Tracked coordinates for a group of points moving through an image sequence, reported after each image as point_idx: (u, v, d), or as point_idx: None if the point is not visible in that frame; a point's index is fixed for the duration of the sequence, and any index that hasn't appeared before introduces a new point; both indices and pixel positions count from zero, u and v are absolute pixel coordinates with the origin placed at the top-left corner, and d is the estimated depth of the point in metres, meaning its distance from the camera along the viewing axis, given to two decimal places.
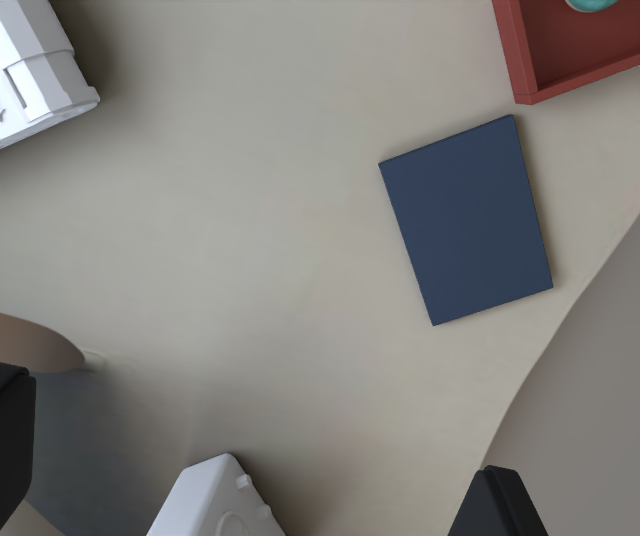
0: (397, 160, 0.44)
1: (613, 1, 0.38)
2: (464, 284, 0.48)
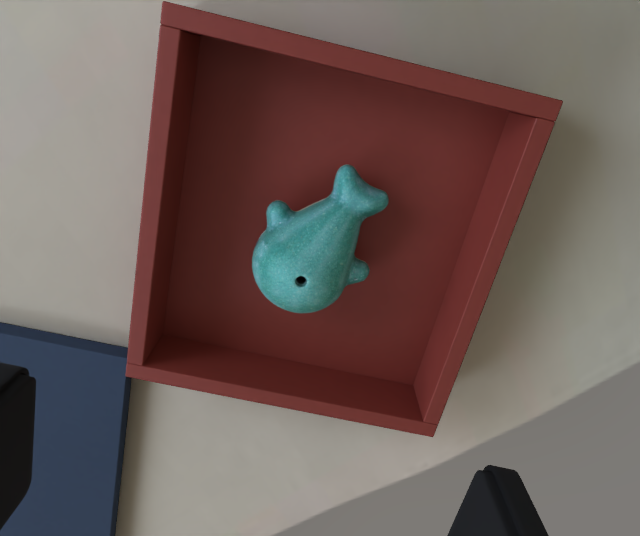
0: None
1: (299, 312, 0.23)
2: None
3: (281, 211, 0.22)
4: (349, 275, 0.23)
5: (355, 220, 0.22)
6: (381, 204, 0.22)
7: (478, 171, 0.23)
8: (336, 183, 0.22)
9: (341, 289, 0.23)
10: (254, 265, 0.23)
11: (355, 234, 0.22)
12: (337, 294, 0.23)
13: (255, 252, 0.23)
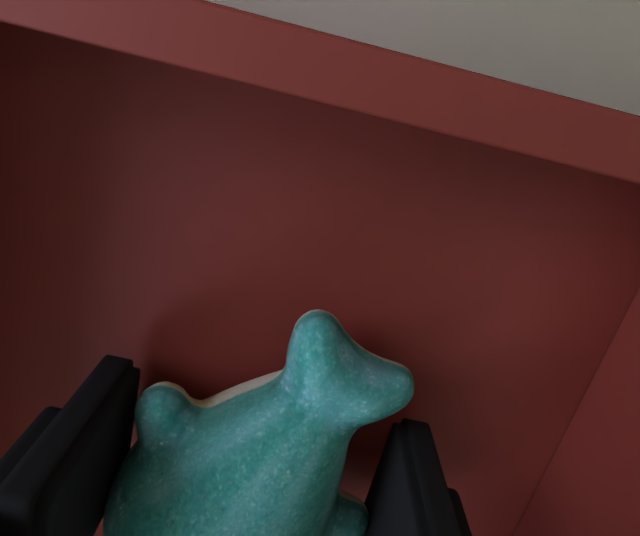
0: None
1: None
2: None
3: (164, 417, 0.10)
4: None
5: (337, 443, 0.09)
6: (398, 404, 0.10)
7: (603, 313, 0.11)
8: (292, 356, 0.09)
9: None
10: None
11: (336, 472, 0.10)
12: None
13: (106, 508, 0.10)
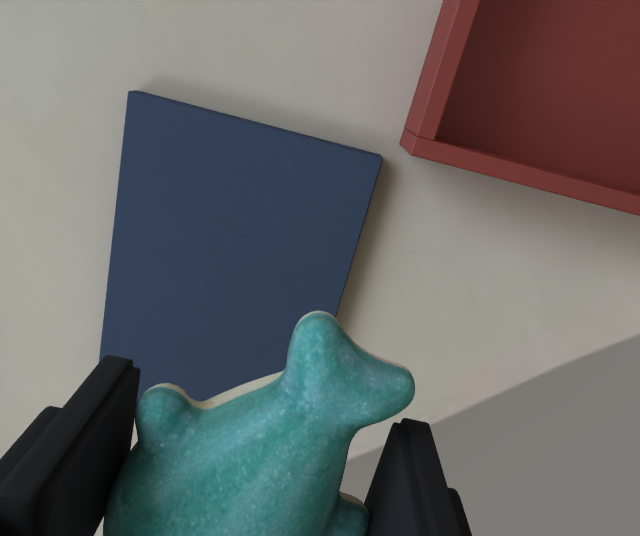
0: (163, 104, 0.23)
1: None
2: (173, 363, 0.28)
3: (164, 418, 0.10)
4: None
5: (337, 445, 0.09)
6: (399, 406, 0.10)
7: None
8: (292, 358, 0.09)
9: None
10: None
11: (337, 474, 0.10)
12: None
13: (106, 509, 0.10)
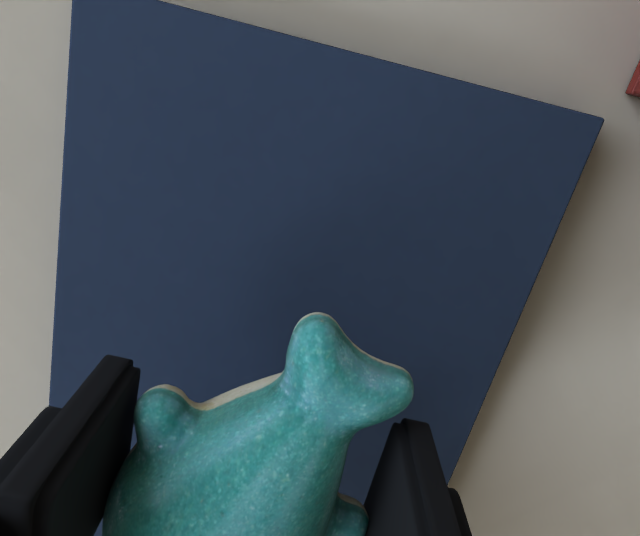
0: (149, 7, 0.11)
1: None
2: None
3: (163, 420, 0.10)
4: None
5: (336, 446, 0.09)
6: (398, 407, 0.10)
7: None
8: (291, 359, 0.09)
9: None
10: None
11: (336, 475, 0.10)
12: None
13: (105, 511, 0.10)
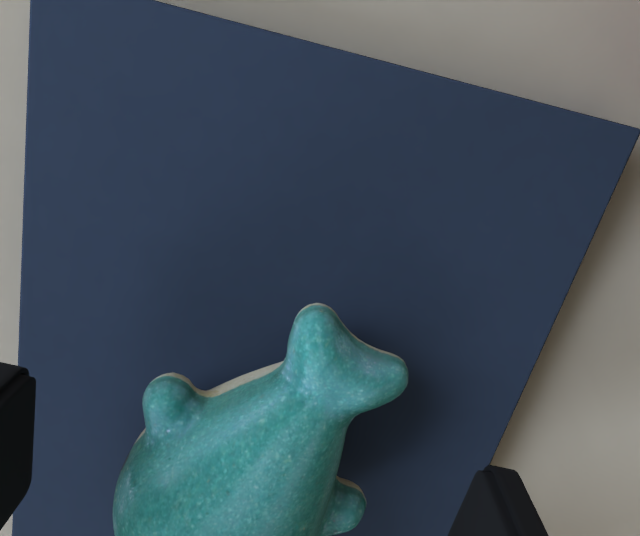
0: (119, 1, 0.09)
1: None
2: None
3: (171, 406, 0.10)
4: (323, 529, 0.11)
5: (335, 430, 0.10)
6: (393, 392, 0.10)
7: None
8: (292, 347, 0.10)
9: None
10: (113, 520, 0.10)
11: (335, 457, 0.10)
12: None
13: (115, 493, 0.10)
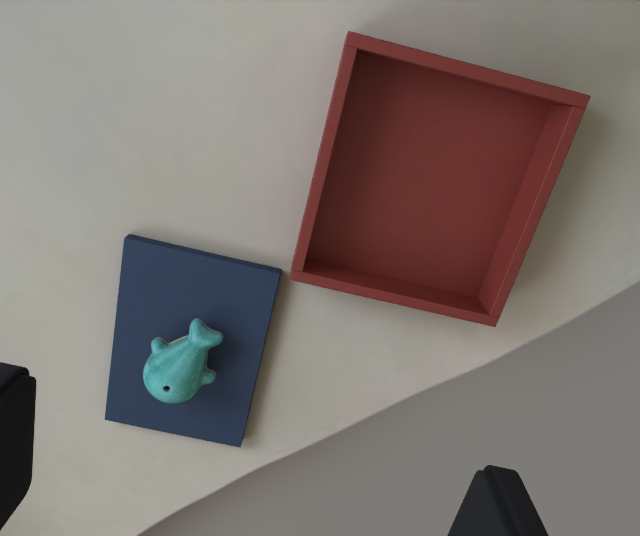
0: (145, 244, 0.38)
1: None
2: (155, 398, 0.42)
3: (158, 345, 0.38)
4: (201, 381, 0.39)
5: (201, 351, 0.38)
6: (217, 342, 0.38)
7: (530, 143, 0.35)
8: (190, 330, 0.38)
9: (195, 389, 0.39)
10: (143, 376, 0.39)
11: (201, 359, 0.38)
12: (192, 393, 0.39)
13: (144, 369, 0.39)
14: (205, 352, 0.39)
